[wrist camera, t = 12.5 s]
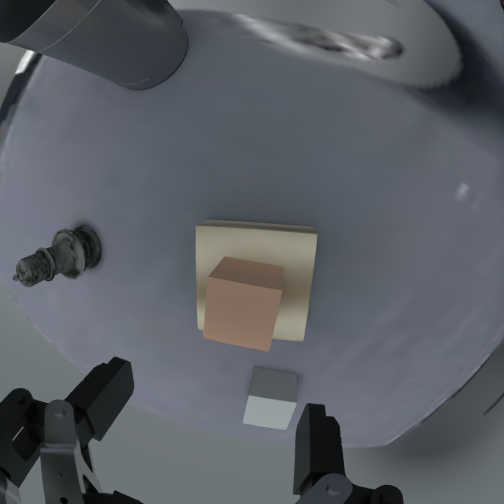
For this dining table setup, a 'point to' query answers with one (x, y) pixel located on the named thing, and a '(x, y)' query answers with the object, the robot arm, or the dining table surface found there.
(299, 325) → the birch block
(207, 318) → the terracotta cube
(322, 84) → the dining table surface
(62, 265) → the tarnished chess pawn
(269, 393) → the grey cube
